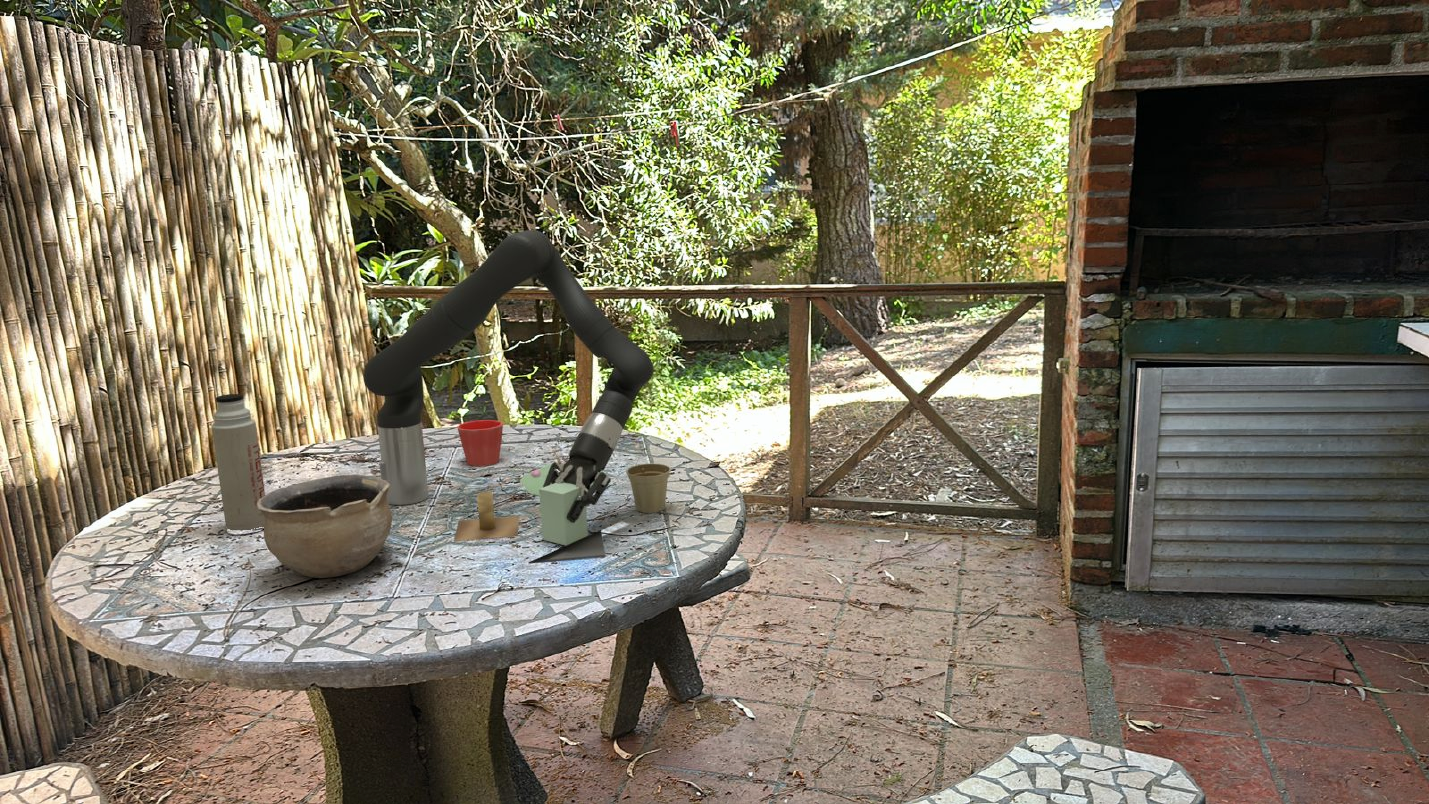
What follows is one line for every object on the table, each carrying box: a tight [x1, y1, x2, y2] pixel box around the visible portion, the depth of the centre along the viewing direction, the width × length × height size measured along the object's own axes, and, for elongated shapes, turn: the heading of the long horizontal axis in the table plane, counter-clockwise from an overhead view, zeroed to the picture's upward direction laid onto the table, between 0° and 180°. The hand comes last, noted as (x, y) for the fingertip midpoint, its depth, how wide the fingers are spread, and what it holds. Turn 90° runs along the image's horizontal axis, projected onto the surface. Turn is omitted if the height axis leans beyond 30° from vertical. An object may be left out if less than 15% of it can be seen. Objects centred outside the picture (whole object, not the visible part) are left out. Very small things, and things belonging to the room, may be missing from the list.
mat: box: [527, 529, 606, 564], centre depth 187 cm, size 14×14×1 cm
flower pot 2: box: [625, 462, 672, 514], centre depth 206 cm, size 9×9×9 cm
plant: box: [519, 443, 604, 497], centre depth 225 cm, size 25×21×9 cm
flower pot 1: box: [457, 419, 504, 467], centre depth 244 cm, size 11×11×10 cm
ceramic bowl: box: [257, 474, 393, 579], centre depth 177 cm, size 22×22×15 cm
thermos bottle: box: [211, 393, 266, 530], centre depth 198 cm, size 8×8×28 cm
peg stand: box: [453, 491, 520, 542], centre depth 193 cm, size 12×12×8 cm
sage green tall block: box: [539, 481, 589, 546], centre depth 185 cm, size 6×6×10 cm
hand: (557, 517), depth 184 cm, fingers closed on sage green tall block, 5 cm apart
